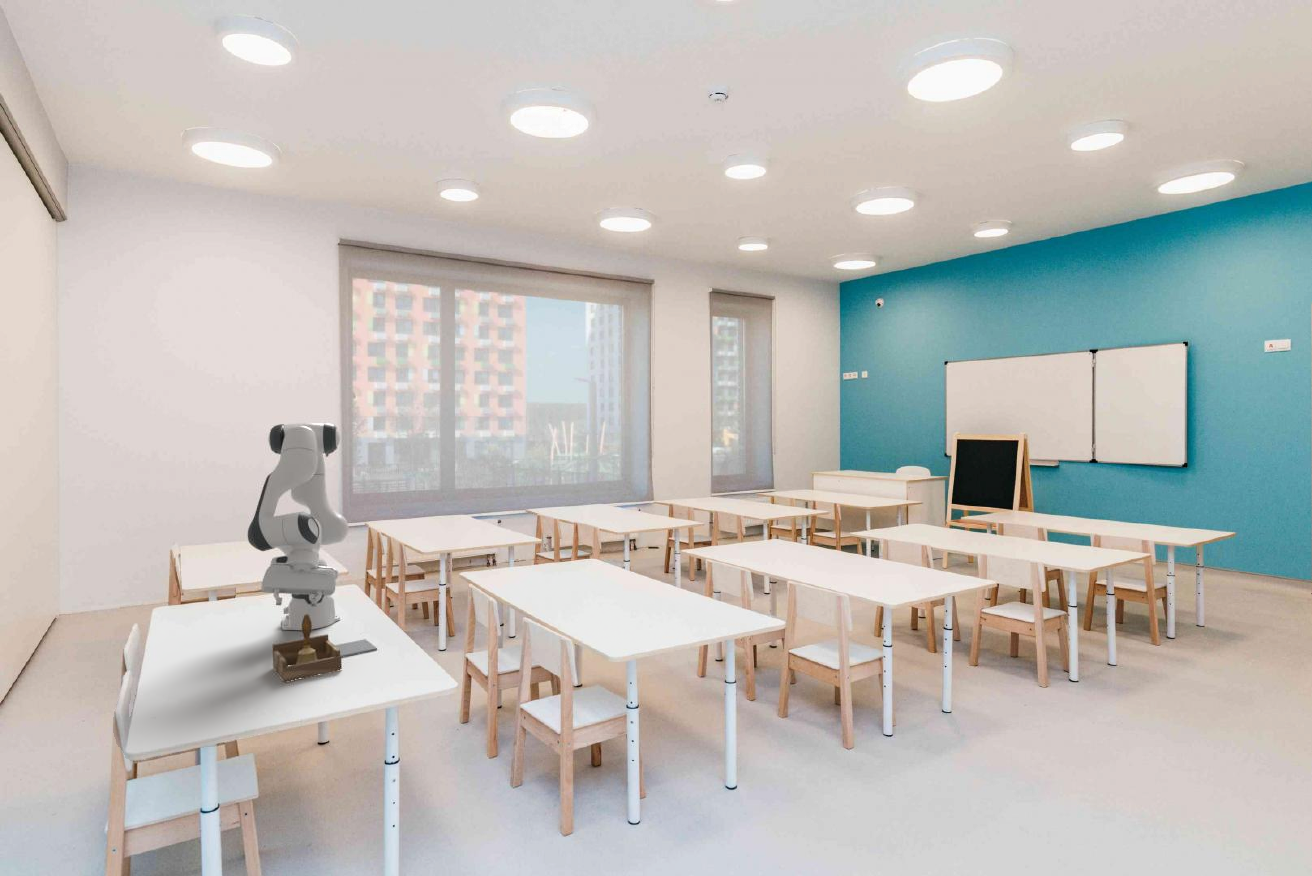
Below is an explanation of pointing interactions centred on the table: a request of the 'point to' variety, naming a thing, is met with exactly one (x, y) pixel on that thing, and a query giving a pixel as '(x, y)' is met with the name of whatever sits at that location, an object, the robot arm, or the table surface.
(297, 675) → the open wooden box
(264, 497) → the robot arm
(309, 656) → the hand bell
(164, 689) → the table surface
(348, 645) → the slate mat
